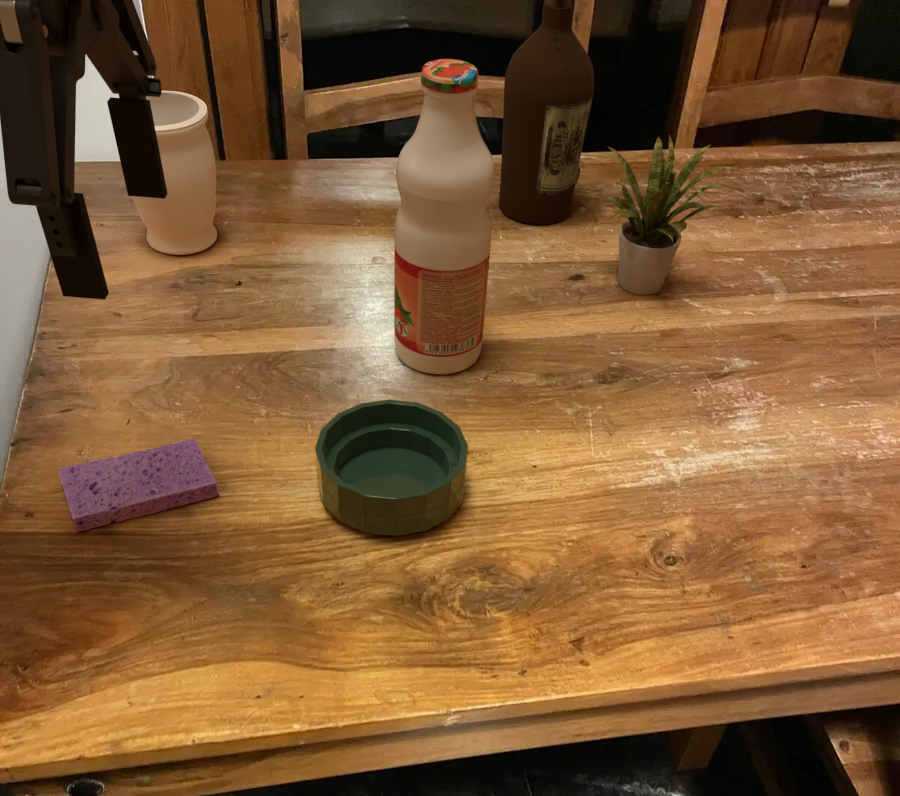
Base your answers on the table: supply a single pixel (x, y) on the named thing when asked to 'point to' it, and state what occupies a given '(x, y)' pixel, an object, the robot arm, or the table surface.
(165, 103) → the jar
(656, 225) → the house plant
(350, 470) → the dish
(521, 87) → the olive oil
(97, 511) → the sponge
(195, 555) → the table surface
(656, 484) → the table surface
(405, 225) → the fruit juice
